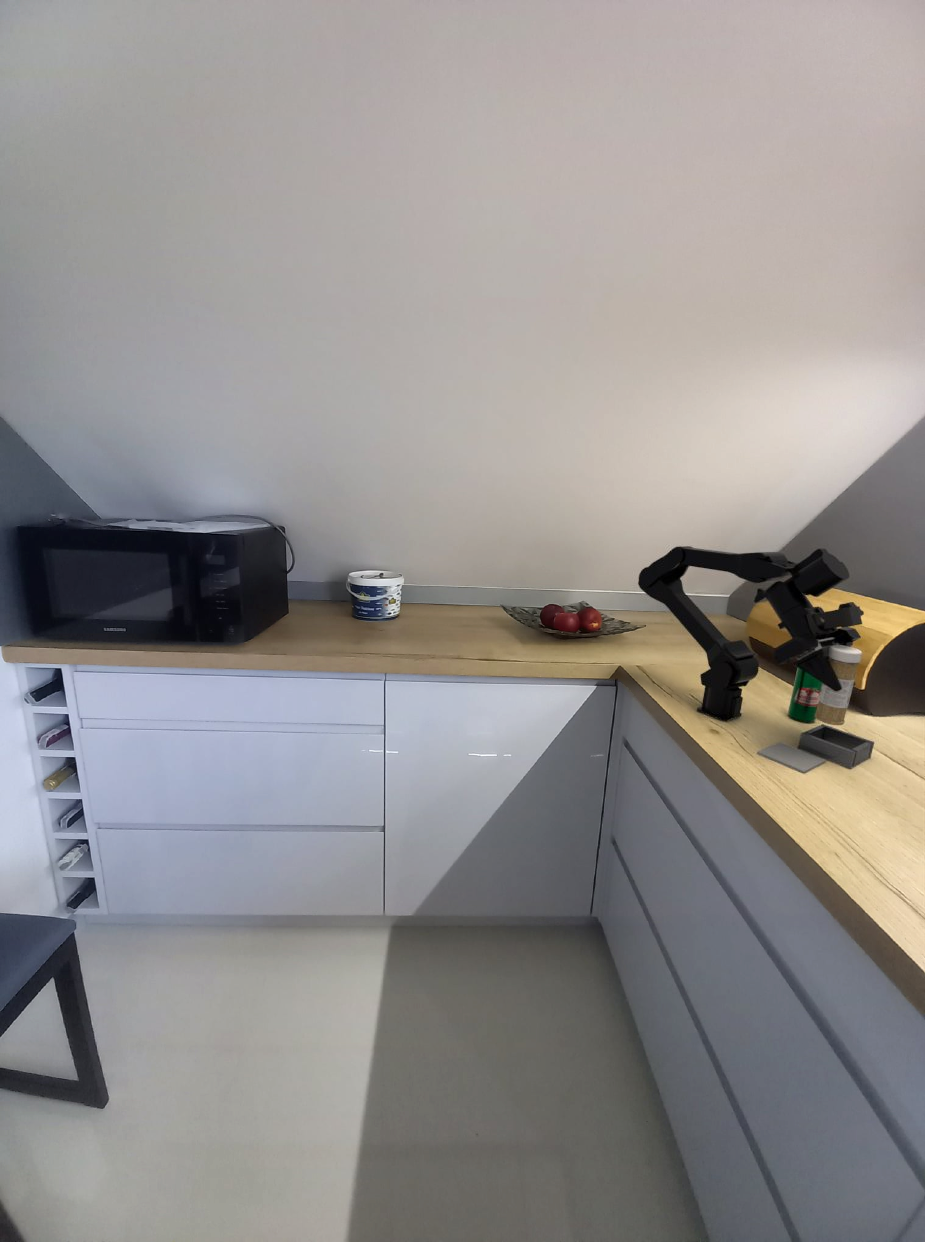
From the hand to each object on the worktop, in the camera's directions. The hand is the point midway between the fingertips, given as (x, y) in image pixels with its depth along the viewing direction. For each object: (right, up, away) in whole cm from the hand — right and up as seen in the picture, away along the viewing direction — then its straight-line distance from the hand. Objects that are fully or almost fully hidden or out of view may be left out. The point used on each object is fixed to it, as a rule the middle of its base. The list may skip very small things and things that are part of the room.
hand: (845, 688), depth 97 cm
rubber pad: (-8, -13, +3) cm, 15 cm away
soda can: (+5, -9, +21) cm, 23 cm away
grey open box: (+2, -12, +6) cm, 14 cm away
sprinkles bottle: (-1, -6, +3) cm, 7 cm away
